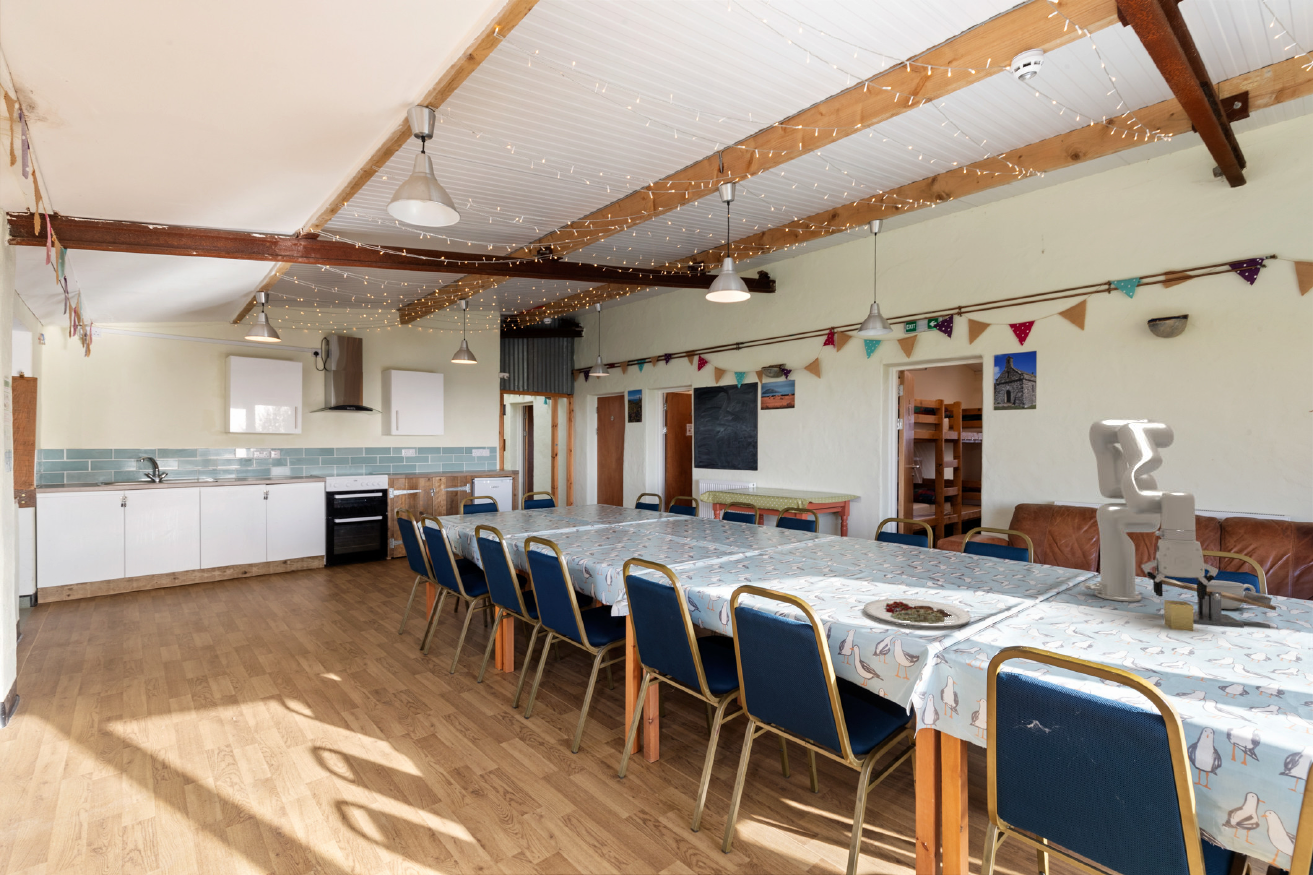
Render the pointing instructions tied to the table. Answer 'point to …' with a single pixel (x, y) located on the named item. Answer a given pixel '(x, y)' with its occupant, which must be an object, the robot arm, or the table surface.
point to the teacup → (1229, 588)
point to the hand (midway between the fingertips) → (1179, 596)
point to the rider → (1178, 615)
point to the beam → (1227, 594)
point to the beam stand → (1213, 612)
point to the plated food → (917, 612)
